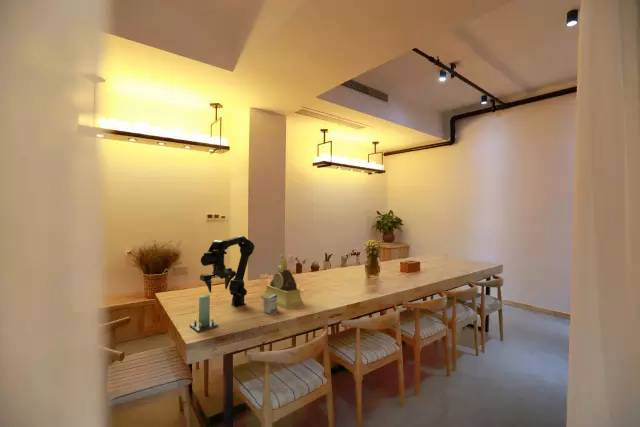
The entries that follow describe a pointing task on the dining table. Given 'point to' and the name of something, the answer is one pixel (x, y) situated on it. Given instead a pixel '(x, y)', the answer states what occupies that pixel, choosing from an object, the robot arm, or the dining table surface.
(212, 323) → the plate
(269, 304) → the medicine box
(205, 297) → the teal wooden post
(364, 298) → the dining table surface
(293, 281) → the decorative clock
